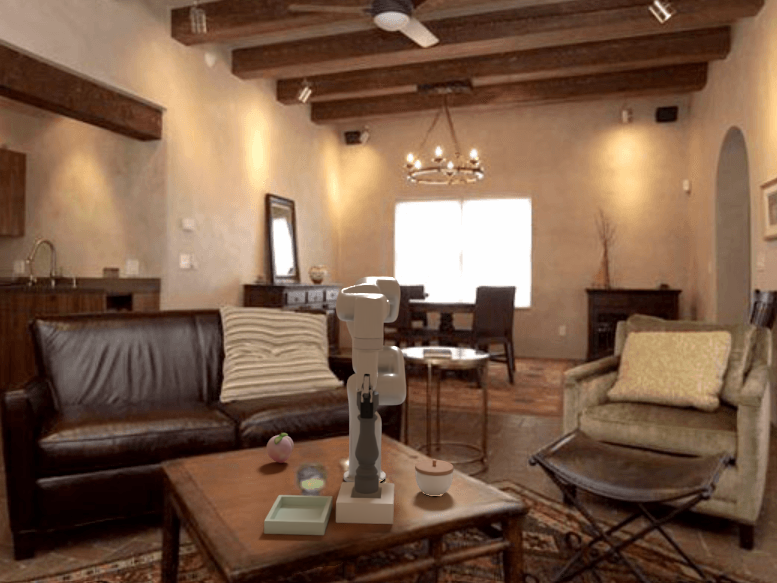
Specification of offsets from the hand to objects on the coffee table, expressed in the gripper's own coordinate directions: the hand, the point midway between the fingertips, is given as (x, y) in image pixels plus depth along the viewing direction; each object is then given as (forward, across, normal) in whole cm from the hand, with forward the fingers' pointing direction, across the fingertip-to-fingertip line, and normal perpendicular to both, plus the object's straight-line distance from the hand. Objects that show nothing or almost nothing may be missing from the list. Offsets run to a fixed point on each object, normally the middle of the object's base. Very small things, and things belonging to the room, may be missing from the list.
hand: (367, 414), depth 151 cm
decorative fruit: (+26, -36, -30) cm, 53 cm away
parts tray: (+25, +6, -16) cm, 30 cm away
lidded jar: (+25, -14, +18) cm, 34 cm away
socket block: (+25, 0, 0) cm, 25 cm away
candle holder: (+20, 0, 0) cm, 20 cm away
